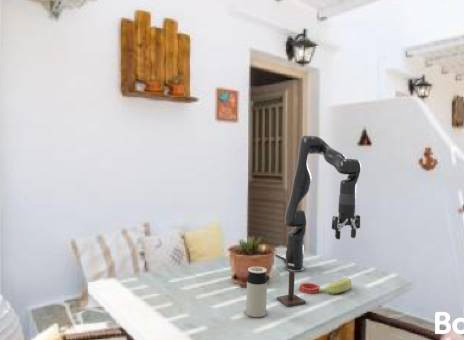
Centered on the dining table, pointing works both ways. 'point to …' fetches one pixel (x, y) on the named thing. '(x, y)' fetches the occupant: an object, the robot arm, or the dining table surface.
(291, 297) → the peg stand
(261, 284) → the travel mug
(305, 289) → the ring
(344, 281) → the banana
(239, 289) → the dining table surface
